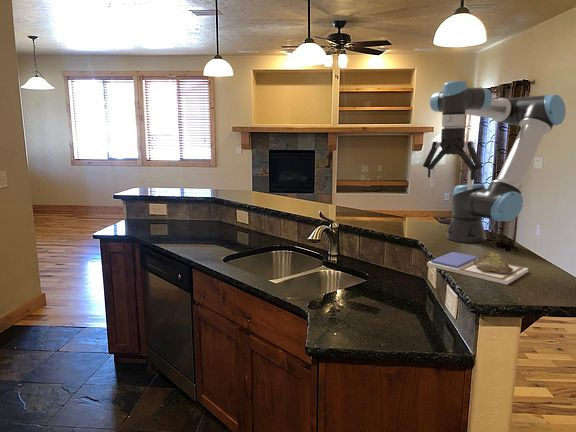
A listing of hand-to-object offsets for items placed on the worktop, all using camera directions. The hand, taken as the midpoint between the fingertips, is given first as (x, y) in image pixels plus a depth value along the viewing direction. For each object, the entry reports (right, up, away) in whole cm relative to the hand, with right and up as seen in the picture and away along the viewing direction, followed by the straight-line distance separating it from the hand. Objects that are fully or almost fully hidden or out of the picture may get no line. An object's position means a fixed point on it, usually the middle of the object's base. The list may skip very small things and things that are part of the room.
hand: (450, 188), depth 155 cm
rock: (+7, -27, -16) cm, 32 cm away
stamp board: (+4, -27, -12) cm, 30 cm away
